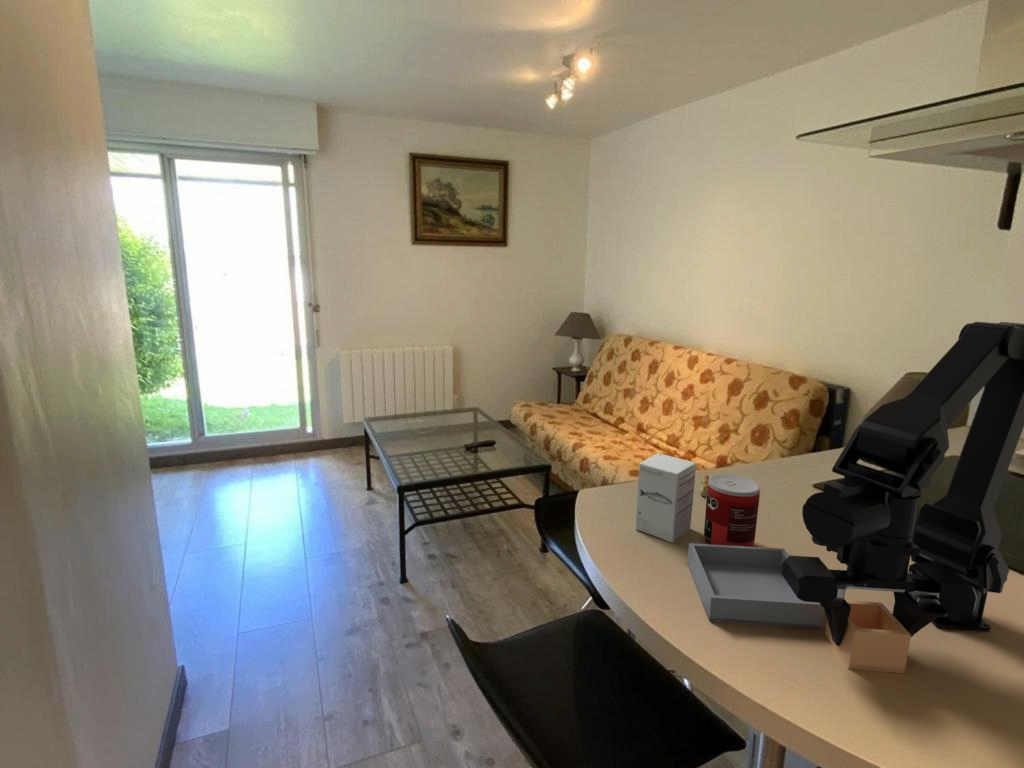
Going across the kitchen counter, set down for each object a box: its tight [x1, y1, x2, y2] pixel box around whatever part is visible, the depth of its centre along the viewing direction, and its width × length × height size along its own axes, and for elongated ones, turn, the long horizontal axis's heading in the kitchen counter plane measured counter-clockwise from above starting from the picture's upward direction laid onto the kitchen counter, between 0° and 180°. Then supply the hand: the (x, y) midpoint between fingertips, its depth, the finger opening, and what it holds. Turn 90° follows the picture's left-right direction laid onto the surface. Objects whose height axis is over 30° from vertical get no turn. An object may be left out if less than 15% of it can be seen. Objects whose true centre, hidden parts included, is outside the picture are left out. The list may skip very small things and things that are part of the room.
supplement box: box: [634, 452, 697, 544], centre depth 94 cm, size 7×7×13 cm
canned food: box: [703, 473, 761, 547], centre depth 89 cm, size 8×8×11 cm
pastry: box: [699, 474, 715, 498], centre depth 109 cm, size 9×7×4 cm
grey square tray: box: [687, 543, 825, 630], centre depth 76 cm, size 14×14×4 cm
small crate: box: [825, 599, 912, 674], centre depth 64 cm, size 6×6×5 cm
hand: (863, 645), depth 65 cm, fingers closed on small crate, 6 cm apart
